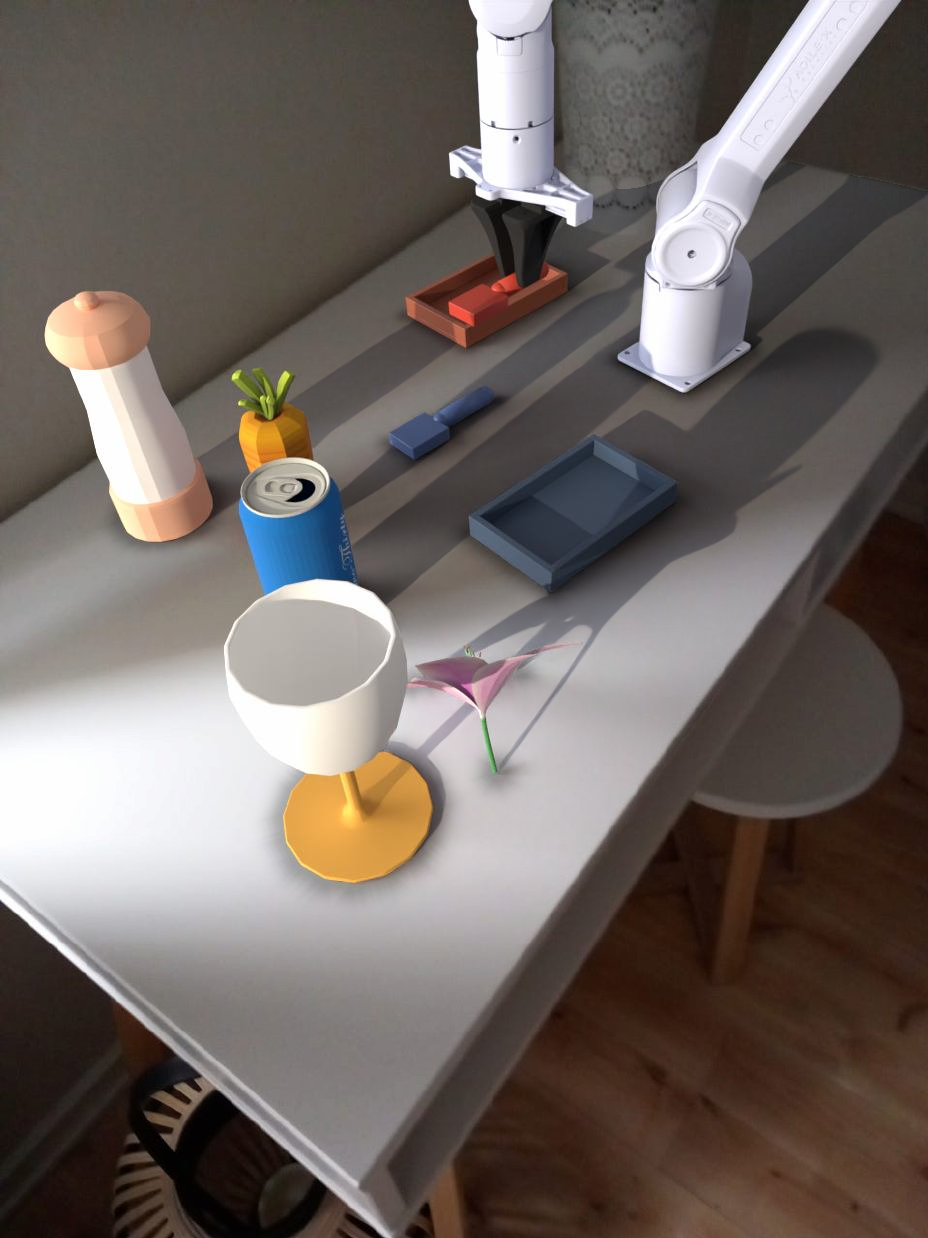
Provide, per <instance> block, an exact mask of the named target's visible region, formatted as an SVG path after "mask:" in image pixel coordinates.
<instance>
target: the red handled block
mask: <svg viewBox="0 0 928 1238" xmlns="http://www.w3.org/2000/svg"><path fill="white" fill-rule="evenodd" d="M548 265H549V263H548V262H547V261H546V260H544V263H543V267H542V271H541V275H540V279H539V280H541V279H543V278H545V277H546V276H547V275H548V273H549V266H548ZM535 283H536V282H535ZM533 284H534V283H533ZM531 285H532V284H531ZM526 288H527V287H526ZM523 289H525V288H522V287H519V286H518V283H517V280H516V274H515V272H514V273H513V274H511V275H509V276H507V277H505V278H503V279H501V280H500V281H498V282H496V283H494V284H493V285H492V287H491V288H490V287H488V286H486V285H484V284H481V285H479V286H477V287H475V288H473V289H472V290H470V291H468V292H466V293H464V294H462V295H460V296H459V297H457V298H455V299H453V300H451V301H449V312H450V315H452V316H454V317H456V318H458V319H460V320H462V321H464V322H466V323H468V324H470V325H471V326H473V327H476V326H478V325H480V324H481V323H483V322H485V321H487V320H488V319H490V318H492V317H494V316H496V315H497V314H499V313H501V312H503V311H505V310H506V309H508V297H510V296H512V295H514V294H516V293H518V292H519V291H521V290H523Z"/></svg>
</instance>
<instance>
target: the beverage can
mask: <svg viewBox="0 0 928 1238" xmlns="http://www.w3.org/2000/svg"><path fill="white" fill-rule="evenodd" d="M238 515H239V517H240V521H241V524H242V527H243V531H244V533H245V537H246V539H247V544H248V546H249V550H250V552H251V556H252V559H253V562H254V565H255V568H256V571H257V575H258V577H259V581H260V584H261V587H262V591H263V594H264V596H266V595H268V594H270V593H271V592H273V591H275V590H277V589H279V588H281V587H283V586H285V585H290V584H295V583H300V582H304V581H309V580H314V579H324V580H337V581H348V582H350V583H353V584H355V585H357V586H360V582H359V577H358V573H357V568H356V564H355V559H354V554H353V550H352V544H351V539H350V536H349V530H348V526H347V521H346V515H345V511H344V505H343V502H342V496H341V492H340V489H339V486H338V484H337V483H336V481H335V480H334V479H333V478H332V477H331V476H330V475H329V472H328V470H327V469H326V468H325V467H324V466H323V465H321V464H320V463H319V462H317V461H315V460H314V461H312V460H309V459H305V458H282V459H278V460H274V461H271V462H268V463H266V464H264V465H262V466H260V467H258V468H256V469H255V470H254V471H252V472H251V473H250V472H249V474H248V475H247V476H246V477H245V479H244V480H243V482H242V484H241V487H240V499H239V503H238Z"/></svg>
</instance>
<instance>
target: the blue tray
mask: <svg viewBox="0 0 928 1238" xmlns="http://www.w3.org/2000/svg"><path fill="white" fill-rule="evenodd" d="M678 484H679V481H677V480H675V479H673V478H672V477H671V476H668V474H665V473H663V472H661V471H660V470H659V469H656V468H654V467H652V466H651V465H649V464H647V463H646V462H644V461H642V460H640V459H639V458H637V457H635V456H634V455H632V454H630V453H628V452H627V451H625V450H623V449H621V448H620V447H618V446H616V445H615V444H612V443H611V442H609V441H608V440H606V439H604V438H602V437H600V436H599V435H597V434H595V433H593V434H592V435H589V437H587V438H586V439H584V440H583V441H580V442H579V443H577V444H576V445H575V446H573V447H572V448H570V449H569V450H567V451H566V452H564V453H562V454H561V455H560V456H558V457H556V458H555V459H553V460H552V461H550V462H548V463H547V464H546V465H544V466H543V467H541V468H539V469H538V470H536V471H535V472H533V473H532V474H530V475H529V476H528V477H526V478H524V479H523V480H521V481H520V482H518V483H516V484H515V485H514V486H512V487H510V488H509V489H507V490H505V492H503V493H501V494H500V495H499V496H498V495H497V497H495V498H494V499H492V500H491V501H489V502H488V503H486V504H485V505H483V506H481V507H480V508H478V509H477V510H476V511H474V512H472V513H471V514H469V515H468V523H469V535H470V536H471V537H472V538H473V539H475V540H476V541H478V542H480V544H481V545H484V546H485V547H486V548H487V549H489V550H491V551H492V552H493V553H495V554H496V555H497V556H498V557H500V558H502V559H503V560H504V561H506V562H507V563H509V564H510V565H511V566H513V567H514V568H516V569H517V570H519V572H521V573H523V574H524V575H526V576H527V577H528V578H530V579H531V580H532V581H534V582H535V583H537V584H539V585H540V586H541V587H542V588H544V589H545V590H547V591H548V592H549V593H553V592H554V591H556V590H557V589H559V588H560V587H561V586H563V585H564V584H565V583H566V582H568V581H569V580H570V579H572V578H574V577H575V576H576V575H577V574H579V573H580V572H582V571H583V570H585V568H587V567H588V566H589V565H592V563H594V562H595V561H596V560H598V559H599V558H601V557H602V556H603V555H605V554H607V552H609V551H611V550H612V549H613V548H614V547H616V546H617V545H618V544H620V543H622V541H624V540H625V539H626V538H627V537H629V536H630V535H632V534H633V533H635V532H636V531H638V530H639V529H640V528H642V527H643V526H644V525H646V524H647V523H648V522H650V521H651V520H652V519H654V518H655V517H657V516H658V515H659V514H661V513H662V512H663V511H665V510H666V509H667V508H669V507H671V505H673V504H675V503H676V501H677V494H678Z"/></svg>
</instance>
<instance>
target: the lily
mask: <svg viewBox="0 0 928 1238" xmlns="http://www.w3.org/2000/svg"><path fill="white" fill-rule="evenodd" d="M578 644H579V645H580V644H583V642H582V641H572V642H560V643H554V644H553V643H552V644H547V645H543V646H540V647H536V648H534V649H532V650H530V651H527V652H526V653H524V654H522V655H519V656H518V655H517V656H512V657H508V658H504V659H499V660H496V661H493V662H490V663H488V661H486V660H485V659H484V658H481V657H482V651H479V654H478V656H477V657H476V656H475V652H474V651H471V646H470V645H467V646H465V645H463V649H464V651H465V655H466V656H454V657H453V656H452V657H448V658H441V659H436V660H432V661H428V662H424V663H420V664H416V665H414V667H415V668H416V669H417V670H418V672H419V673H420V674H421V675H422V676H423V677H421V676H419V677H413V678H412V679H411V680H410V681H408V684H407V688H408V689H409V688H430V689H436V690H438V691H443V692H444V693H447V694H450V695H452V696H454V697H456V698H458V699H460V700H461V701H464V702H465V703H466V704H469V705H471V707H474V708H475V709H476V710H477V711H478V713H479V717H480V722H481V727H482V732H483V737H484V742H485V746H486V749H487V755H488V758H489V763H490V766H491V771H492V774H497V773H498V767H497V764H496V759H495V756H494V755H495V754H494V752H493V751H494V750H493V747H492V743H491V739H490V734H489V729H488V722H487V716H486V715H487V710H488V708H489V707H490V705H491V704H492V702H493V701H494V700H495V698H496V697H497V696H498V695H499V693H500V692H501V690H502V689H504V687H505V685H506V684H507V682H508V681H509V680H510V679H511V677H512V675H513V674H515V673H517V672H518V669H519V667H520V665H521V664H522V663H524V661H526V660H527V659H529V658H531V657H534V656H536V655H540V654H541V652H545V651H546V652H547V651H551V650H554V649H559V648H564V647H570V646H574V645H578ZM407 688H406V689H407Z"/></svg>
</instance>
